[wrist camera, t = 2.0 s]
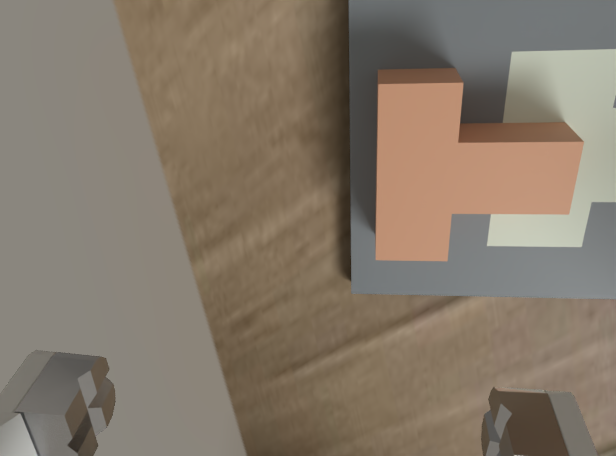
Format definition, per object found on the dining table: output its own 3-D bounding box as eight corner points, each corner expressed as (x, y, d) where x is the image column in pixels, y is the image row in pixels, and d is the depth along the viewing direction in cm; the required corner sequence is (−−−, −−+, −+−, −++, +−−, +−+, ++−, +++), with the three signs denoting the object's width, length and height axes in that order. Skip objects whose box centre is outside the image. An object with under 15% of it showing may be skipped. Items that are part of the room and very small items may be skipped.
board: (666, 289, 35) (675, 300, 34) (352, 283, 37) (351, 293, 36) (774, -42, 26) (791, -41, 25) (349, -25, 28) (348, -23, 27)
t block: (544, 235, 33) (559, 263, 30) (375, 234, 34) (375, 260, 31) (576, 65, 28) (596, 79, 25) (377, 69, 29) (378, 84, 27)
